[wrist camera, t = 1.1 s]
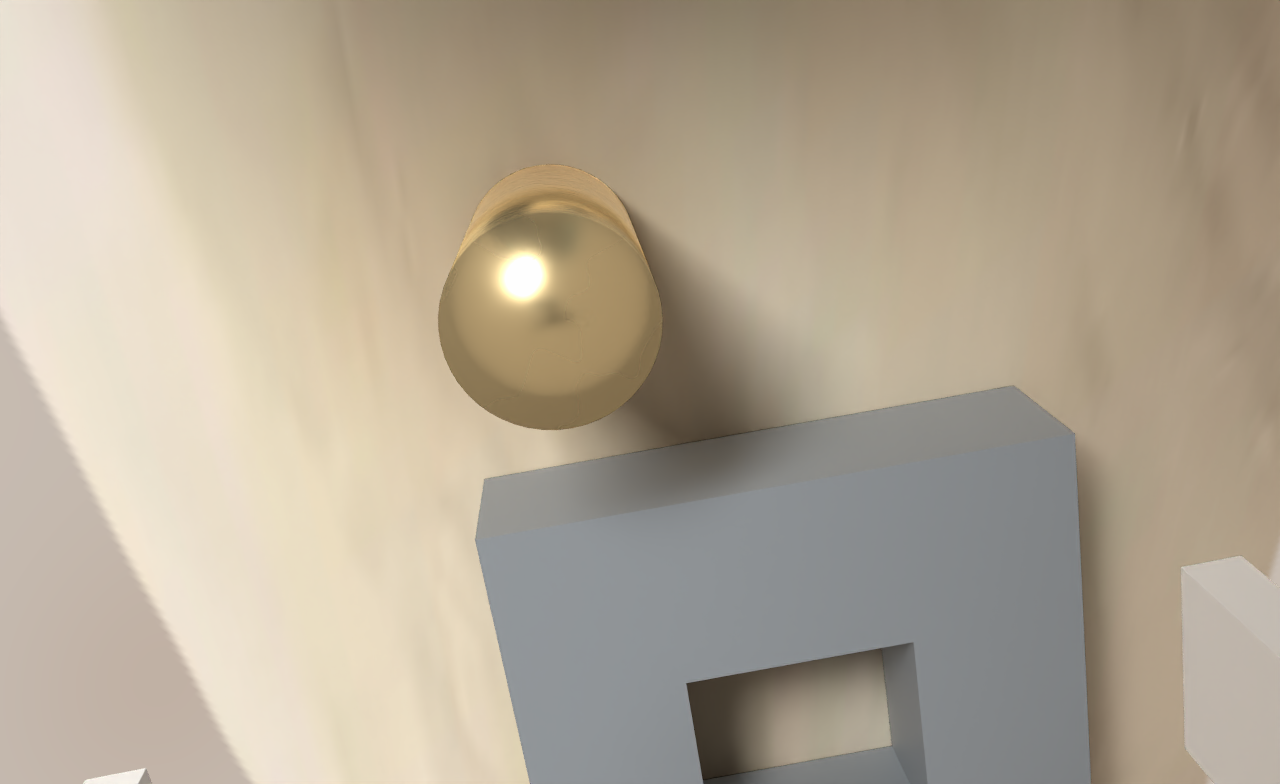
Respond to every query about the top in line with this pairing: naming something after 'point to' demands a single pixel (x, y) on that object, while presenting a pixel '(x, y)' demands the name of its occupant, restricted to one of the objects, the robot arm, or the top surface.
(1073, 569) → the jig
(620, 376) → the gold metal cylinder
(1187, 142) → the top surface
